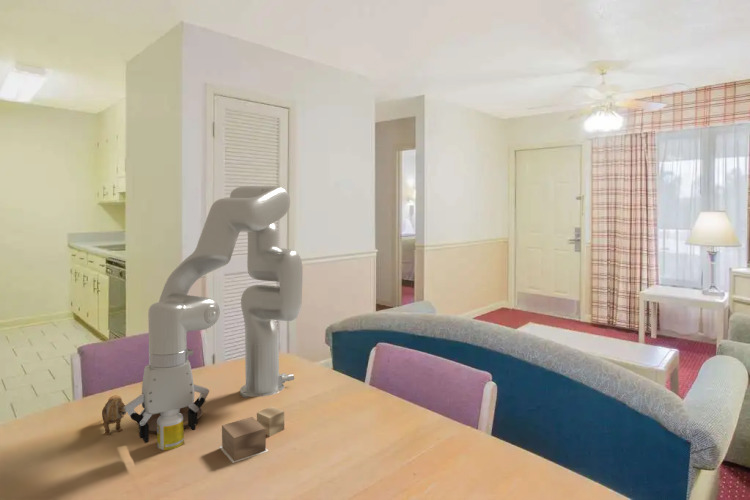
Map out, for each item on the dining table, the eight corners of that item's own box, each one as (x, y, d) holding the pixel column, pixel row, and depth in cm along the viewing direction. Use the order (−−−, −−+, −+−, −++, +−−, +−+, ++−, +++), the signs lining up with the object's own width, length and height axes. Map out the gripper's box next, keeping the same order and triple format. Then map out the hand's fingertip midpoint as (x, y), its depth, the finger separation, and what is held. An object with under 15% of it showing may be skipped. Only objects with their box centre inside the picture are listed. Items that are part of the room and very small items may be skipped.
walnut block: (252, 437, 105) (252, 416, 104) (265, 450, 99) (265, 428, 99) (222, 447, 101) (221, 425, 100) (234, 461, 95) (233, 438, 95)
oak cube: (271, 424, 112) (271, 406, 112) (284, 429, 109) (284, 411, 109) (257, 430, 108) (256, 412, 108) (269, 436, 106) (269, 417, 105)
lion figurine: (130, 436, 108) (129, 399, 107) (104, 442, 105) (102, 404, 104) (123, 413, 120) (122, 379, 119) (99, 417, 117) (98, 383, 116)
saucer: (122, 434, 109) (122, 423, 109) (170, 409, 123) (169, 399, 123) (171, 445, 104) (171, 434, 104) (215, 418, 118) (215, 408, 117)
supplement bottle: (189, 445, 104) (188, 403, 103) (171, 457, 99) (170, 413, 98) (170, 441, 105) (169, 399, 105) (151, 452, 100) (150, 409, 100)
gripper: (202, 348, 108) (203, 418, 110) (120, 361, 98) (122, 438, 99) (213, 355, 103) (214, 429, 104) (127, 370, 92) (129, 452, 93)
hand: (169, 434), depth 101 cm, fingers open, 9 cm apart
